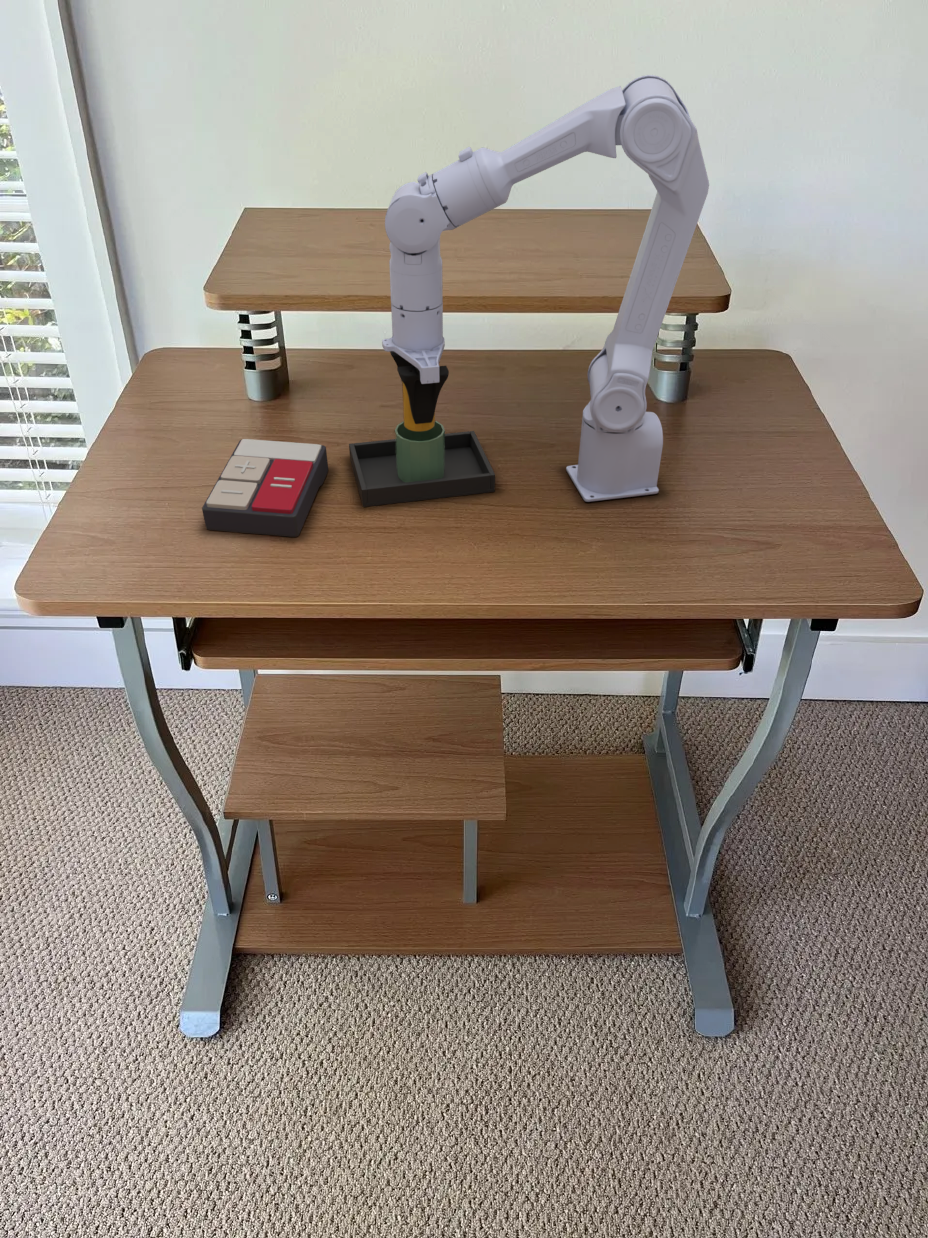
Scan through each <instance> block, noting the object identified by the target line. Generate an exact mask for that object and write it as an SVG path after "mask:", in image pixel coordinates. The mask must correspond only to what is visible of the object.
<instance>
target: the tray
mask: <svg viewBox="0 0 928 1238" xmlns="http://www.w3.org/2000/svg"><path fill="white" fill-rule="evenodd" d="M348 451H349V460H350V465H351V468H352V472H353V475H354V479H355V483H356V484H355V485H356V487H357V491H358V495H359V498H360V502H361V505H362V507H363V508H366V507H375V506H383V505H392V504H401V503H410V502H417V501H418V502H419V501H427V500H434V499H435V500H436V499H443V498H452V497H453V498H454V497H461V496H462V497H463V496H470V495H478V494H488V493H495V492H496V474H495V472H494V469H493V467H492V464H491V463H490V461H489V459H488V457H487V454H486V453H485V451H484V449H483V446H482V444H481V443H480V440H479V438H478V436H477V434H476V432H475V430H470V431H469V430H468V431H467V430H466V431H460V432H449V433H448V432H447V433H445V471H444V476H443V478H441V479H432V480H423V481H414V482H403V481H402V480H400V479H399V477H398V475H397V470H396V445H395V438H391V439H384V440H383V439H381V440H371V441H362V442H353V443H352V442H351V443H348Z"/></svg>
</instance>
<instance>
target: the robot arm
mask: <svg viewBox="0 0 928 1238" xmlns="http://www.w3.org/2000/svg"><path fill="white" fill-rule="evenodd" d="M617 146H621V149H622V150H623V152H624V154H625V155H626V157H627V158H628V159H629V160H630V161H632V162H633V163H634V164H635V165H636V166H637V167H639V168H640V169H641V170H642V171H644V172H645V173H646V174H648V177H649V179H650V180H651V183H652V185H653V186H654V188H655V190H656V193H655V197H654V200H653V203H652V207H651V210H650V213H649V215H648V219H647V222H646V225H645V229H644V231H643V235H642V238H641V241H640V244H639V247H638V250H637V254H636V257H635V260H634V263H633V266H632V269H631V272H630V275H629V279H628V282H627V284H626V287H625V291H624V293H623V294H624V295H623V296H622V297H623V298H622V301H621V303H620V307H619V309H618V312H617V316H616V319H615V322H614V325H613V329H612V330H611V332H610V333H609V334H608V335H607V336H606V338H605V341H604V344H603V347H602V348H601V350H600V351H599V352H598V354H597V355H596V356H595V357H593V359H592V360H591V362H590V364H589V366H588V369H587V382H588V385H589V394H590V400H589V402H588V403H586V405H585V407H584V408H583V410H582V416H581V427H580V428H581V429H580V440H579V447H578V448H579V450H578V461H577V464H573V465H567V466H566V468H565V471H566V472H567V475H568V476H569V477H570V479H571V481H572V482H573V484H574V486H575V487H576V489H577V491H578V493H579V495H580V496H581V498H582V499H583V501H584V502H586V503H590V502H599V501H607V500H616V499H623V498H624V499H625V498H631V497H632V498H633V497H641V496H649V495H657V494H659V493H660V492H659V491H660V489H659V487H658V479H659V475H660V467H661V462H662V461H661V460H662V453H663V447H664V432H663V426H662V422H661V420H660V418H659V416H658V415H657V413H655V412H653V411H647V408H648V402H647V396H646V389H647V384H648V382H649V379H650V374H651V367H652V366H651V365H652V357H653V350H654V347H655V345H656V341H657V339H658V336H659V333H660V330H661V328H662V325H663V322H664V319H665V316H666V313H667V310H668V308H669V304H670V302H671V299H672V296H673V293H674V290H675V287H676V285H677V282H678V279H679V276H680V274H681V270H682V268H683V264H684V263H685V260H686V257H687V253H688V251H689V249H690V245H691V242H692V240H693V237H694V233H695V231H696V227H697V225H698V223H699V220H700V217H701V214H702V211H703V208H704V205H705V202H706V200H707V197H708V193H709V189H710V180H709V177H708V172H707V168H706V164H705V161H704V157H703V152H702V147H701V143H700V140H699V134H698V129H697V127H696V125H695V123H694V122H693V120H692V118H691V115H690V113H689V110H688V108H687V106H686V104H685V103H684V102H683V100H682V99H681V97H680V96H679V94H678V93H677V91H676V89H675V87H673V85H672V84H671V83H670V82H669V81H668V80H667V79H666V78H663V77H661V76H659V75H656V74H655V75H654V74H646V75H641V76H637V77H636V78H634V79H632V80H631V81H629V82H628V83H627V84H626V85H625V86H623V88H622V85H619V86H615V87H612V88H610V89H608V90H605V91H604V92H602V93H600V94H599V95H596V96H595V97H593V98H592V99H589V100H588V101H586V102H584V103H582V104H581V105H579V106H577V107H575V108H574V109H572V110H571V111H569V112H567V113H566V114H564V115H562V116H560V117H559V118H557V119H555V120H553V121H552V122H550V123H548V124H547V125H545V126H543V127H542V128H540V129H538V130H536V131H535V132H533V133H531V134H529V135H528V136H526V137H524V138H523V139H521V140H520V141H518V142H515V143H514V144H512V145H511V146H509V147H507V148H506V149H504V150H502V151H497V150H494V149H490V148H488V147H484V146H483V147H480V148H477V149H476V150H474V151H473V149H472V147H471V146H468V147H465V148H463V149H461V150H460V151H459V153H458V159H457V160H456V161H454V162H452V163H450V164H448V165H446V166H444V167H442V168H440V169H439V170H437V171H435V172H433V173H431V174H428V172H427V171H425V172H423V173H421V174H419V175H418V177H417V179H416V180H417V182H416V181H409V182H407V183H404V184H403V185H401V186H400V187H398V188H397V190H395V192H394V194H393V196H392V197H391V200H390V202H389V205H388V208H387V210H386V213H385V216H384V218H385V219H384V230H385V233H386V236H387V238H388V240H389V252H390V253H389V254H390V259H389V262H388V263H389V284H390V285H389V288H390V311H391V313H390V314H391V329H392V331H391V332H392V333H391V337H389V338H383V339H382V340H381V345H382V349H383V351H384V352H389V353H390V356H391V357H392V359H393V360H394V363H395V364H396V370H397V373H398V376H399V377H400V381H401V382H402V381H403V383H404V385H405V387H406V390H407V393H408V397H409V403H410V408H411V413H412V417H413V420H414V422H415V424H422V423H431V422H432V420H433V417H434V413H435V414H436V408H437V403H438V399H439V396H440V393H441V390H442V388H443V386H444V384H445V383H446V381H447V380H448V379H449V374H450V370H449V369H448V366H447V365H440V362H441V358H442V356H443V353H444V349H445V346H446V339H445V337H444V323H443V322H444V301H443V299H444V296H443V294H444V293H443V258H442V255H441V235H442V233H443V232H445V231H453V230H455V229H458V228H460V227H461V226H463V225H465V224H467V223H470V222H471V221H473V220H475V219H477V218H479V217H481V216H482V215H485V214H487V213H488V212H489V213H490V212H491V211H492V210H495V209H497V208H498V207H500V206H502V205H504V204H506V203H507V202H508V200H509V197H510V194H511V191H512V188H513V186H514V185H515V184H517V183H519V182H522V181H524V180H526V179H529V178H531V177H533V176H535V175H537V174H539V173H541V172H543V171H546V170H548V169H551V168H552V167H554V166H557V165H559V164H561V163H563V162H565V161H568V160H569V159H573V158H574V157H576V156H578V155H581V154H583V153H591V154H595V155H599V156H603V157H606V158H612V159H617V158H618V157H617Z"/></svg>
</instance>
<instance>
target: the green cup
mask: <svg viewBox="0 0 928 1238" xmlns="http://www.w3.org/2000/svg"><path fill="white" fill-rule="evenodd" d="M445 434H446V430H445V427H444V425H443V424H442V423H440V422H439V421H438V420H435V425H434V427H433V428H431V429H430V430H427V431H411V430H409V429H407V428H406V427H405V426H404V421H401V422H399V423H398V424H396V427H395V429H394V439H395V445H396V470H397V475H398V477H399V479H400V480H402V481H403V482H414V481H423V480H432V479H441V478H443V476H444V471H445Z"/></svg>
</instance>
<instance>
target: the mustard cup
mask: <svg viewBox="0 0 928 1238" xmlns="http://www.w3.org/2000/svg"><path fill="white" fill-rule="evenodd" d="M401 389H402V390H401V391H402V418H403V421H404V426H405V427H406V428H407V429H409V430H411V431H427V430H430V429H431V428H433V427H434V425H435V421H436V412H435V413H434V417H433V420H432V422H431V423H422V424H415V422H414V420H413V417H412V413H411V408H410V403H409V397H408V393H407V390H406V387H405V385H404V383H403V381H401ZM403 421H402V422H403Z"/></svg>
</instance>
